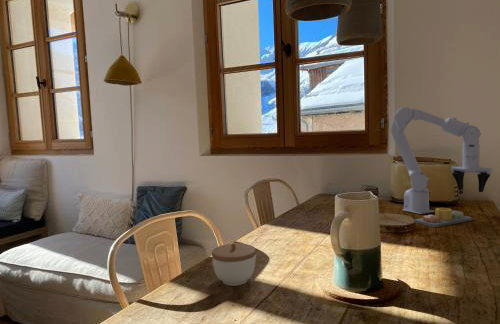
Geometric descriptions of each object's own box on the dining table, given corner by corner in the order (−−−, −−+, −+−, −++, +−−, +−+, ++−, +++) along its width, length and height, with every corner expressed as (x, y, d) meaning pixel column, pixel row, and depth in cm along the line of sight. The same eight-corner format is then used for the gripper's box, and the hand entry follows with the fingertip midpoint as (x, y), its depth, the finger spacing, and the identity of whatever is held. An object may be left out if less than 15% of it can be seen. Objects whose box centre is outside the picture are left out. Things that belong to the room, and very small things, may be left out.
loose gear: (431, 217, 140) (431, 208, 140) (442, 216, 142) (442, 207, 142) (444, 220, 135) (444, 211, 135) (455, 218, 137) (455, 209, 137)
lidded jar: (233, 269, 99) (231, 234, 98) (265, 278, 92) (264, 241, 91) (204, 283, 91) (202, 245, 90) (237, 293, 84) (235, 253, 83)
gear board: (414, 222, 139) (414, 214, 139) (451, 215, 146) (451, 208, 146) (434, 227, 131) (434, 219, 130) (472, 220, 138) (472, 212, 138)
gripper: (446, 156, 149) (446, 190, 150) (486, 157, 137) (485, 194, 138) (456, 155, 153) (456, 188, 154) (494, 156, 141) (494, 191, 142)
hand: (470, 190), depth 146 cm, fingers open, 7 cm apart
